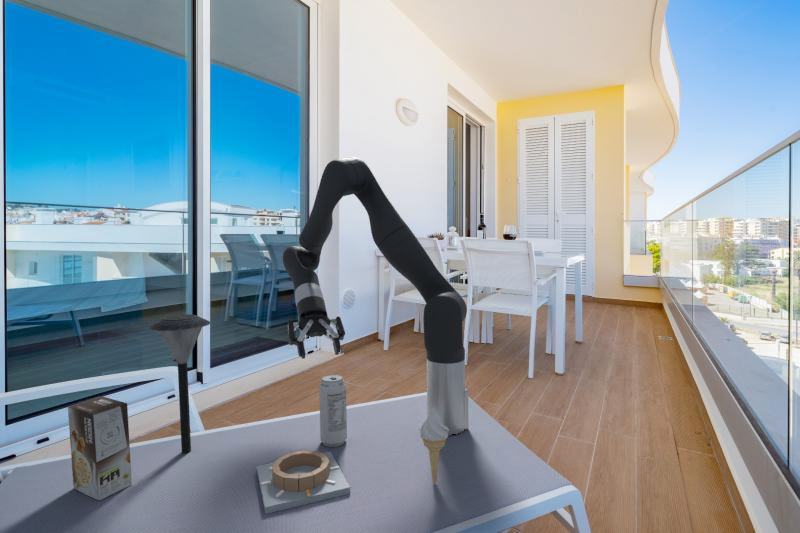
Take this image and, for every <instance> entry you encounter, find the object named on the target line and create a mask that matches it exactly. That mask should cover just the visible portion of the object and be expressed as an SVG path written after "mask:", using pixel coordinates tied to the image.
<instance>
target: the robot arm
mask: <svg viewBox="0 0 800 533" xmlns="http://www.w3.org/2000/svg"><path fill="white" fill-rule="evenodd" d="M350 195H354V196H355V197H356V198H357V199H358V200H359V202H360V203H361V205H362V206H363V207H364V209H365V211H366V213H367V215H368V219H369V225H370V231H371V236H372V240H373V243H374V244H375V245H376V247H377V249H378V250H379V252H380V253H381V254H382V255H383V258H384V259H386V261H387V262H388V263H389V264H390V265H391V266H392V267H393V268H394V269H395V270H396V271H397V272H398V273H399V274H400V275H401V276H402V277H404V278H405V279H406V280H407V281H409V283H411V284H412V285H413V286H414V288H416V290H417V291H418V292H419V294H420V295H421V297H422V298H423V300H424V302H425V305H424V308H423V316H422V317H423V344H424V348H425V351H426V419H427V418H428V416H429V415H430V413H431V412H432V410H433V408H435V409H436V411H437V413H438V415H439V417H440V418H441V419H442V420H443V422H444V423H445V424H444V425H445V426H446V427H448V429H449V432H447V433H448V436H453V435H452V434H456V435H459V434H461V433H463V432H464V431H465V430H468V429H469V390H468V388H466V348H465V347H464V344H463V322H464V320H466V317H467V312H468V311H467V310H468V309H467V304H466V301H465V299H464V298H463V296H462V295H461V294H460V293H459V292H458V291H457V290H456V289H455V288H454V286H452V285H451V284H450V282H449V281H448V280H447V279H446V277H444V276H443V274H442V273H441V272H440V271H439V270H438V268H437V267H436V265H435V264H434V262H433V260H432V259H431V257H430V256H429V254H428V253H427V251H426V249H425V248H424V247H423V245H422V244H421V243H420V241H419V240H418V237H416V235H415V233H413V231H412V230H411V229H410V227H409V225H408V224H407V223H406V222H405V221H404V220H403V218H402V217H401V216H400V214H399V212H398V211H397V210H396V208H395V207H394V205H393V204H392V202H391V201H390V200H389V198H388V197H387V195H386V194H385V192H384V191H383V189H382V187H381V186H380V184H379V182H378V180H377V179H376V177H375V175H374V174H373V172H372V170H371V168H370V167H369V166H368V165H367V163H366V162H365V161H364V160H362V159H361V158H359V157H354V156H353V157H343V158H336V159H334V160H330V162H328V163H327V164H326V166H325V168H324V169H323V173H322V174H321V178H320V181H319V185H318V188H317V192H316V196H315V198H314V202H313V206H312V209H311V212H310V214H309V216H308V219H307V220H306V223H305V224H304V226H303V229H302V231H301V232H300V234H299V237H298V243H299V245H300V246H298V245H291V246H288V247H287V248H285V250H284V251H283V254H282V263H283V266H284V268H285V271H286V272H287V274H288V276H289V278H290V280H291V281H292V284H293V287H294V289H293V290H294V295H295V296H294V299H295V306H296V311H297V317H298V321H296V322H294V321H293V320H291V319H290V320H288V322H287V338H288V345H290V346H295V347H296V348H297V353H298V354H297V355H298V357H301V360H302V359H305V358H306V349H305V344H304V342H305V341H306V339H307V338H308V337H310V338H315V337H325V338H327V339H328V340H329V339H330V341H331V342H332V346H333V351H334V354H335V355H336V356H338V355H339V354H340V352H341V350H342V346H341V341H343V340H344V339H345V338H344V337H345V335H346V331H345V328H344V324H343V322H342V319H341V317H340V316H336V317H335V318H331V319H330V317H329V316H328V312H327V308H326V303H325V299H324V298H325V297H324V295H323V291H322V288H321V285H320V280H319V277H318V274H317V272H316V270H317V269H318V268H319V265H320V261H321V254H322V251H323V246H324V245H325V243H326V241H327V239H328V238H329V235H330V234H331V232H332V229H333V224H334V223H333V213H334V210H335V207H336V206H337V205H338V204H339V202H340V200H342V198H343V197H345V196H346V197H347V196H350ZM331 325H332V326H331ZM332 327H333V328H332ZM297 328H298V329H299V330H300V331H301V333H300V334H299V335H298V337H295V331H296V330H297ZM334 328H335V329H336V331H335V330H334ZM467 428H468V429H467ZM464 429H465V430H464ZM462 431H463V432H462ZM460 432H461V433H460ZM458 433H459V434H458Z"/></svg>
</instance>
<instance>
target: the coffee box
mask: <svg viewBox="0 0 800 533" xmlns="http://www.w3.org/2000/svg"><path fill="white" fill-rule="evenodd" d="M128 413H129V412H128V402H124V401H120V400H116V399H114V398H113V399H112V398H111V397H110V398H109V397H105V396H102V395H101V396H97V397H93V398H90V399H86V400H84V401H80V402H78V403H76V404H72V405H68V406H67V414H68V428H69V441H70V442H69V443H70V455H71V456H70V457H71V469H72V484H73V489H74V490H75V489H76V490H75V491H77V490H78V491H77V492H80V493H82V494H84V495H86V496H88V497H89V498H90V497H91V498H92V499H95V500H97V501H102V500H104V499H105V498H108V497H109V496H112V495H114V494H116V493H118V492H119V491H122V490H123V489H126V488H128V487H130V486H132V484H133V482H132V481H133V480H132V466H131V465H132V464H131V463H132V462H131V449H130V448H131V447H130V446H131V444H130V429H129V426H130V425H129V414H128Z"/></svg>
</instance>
